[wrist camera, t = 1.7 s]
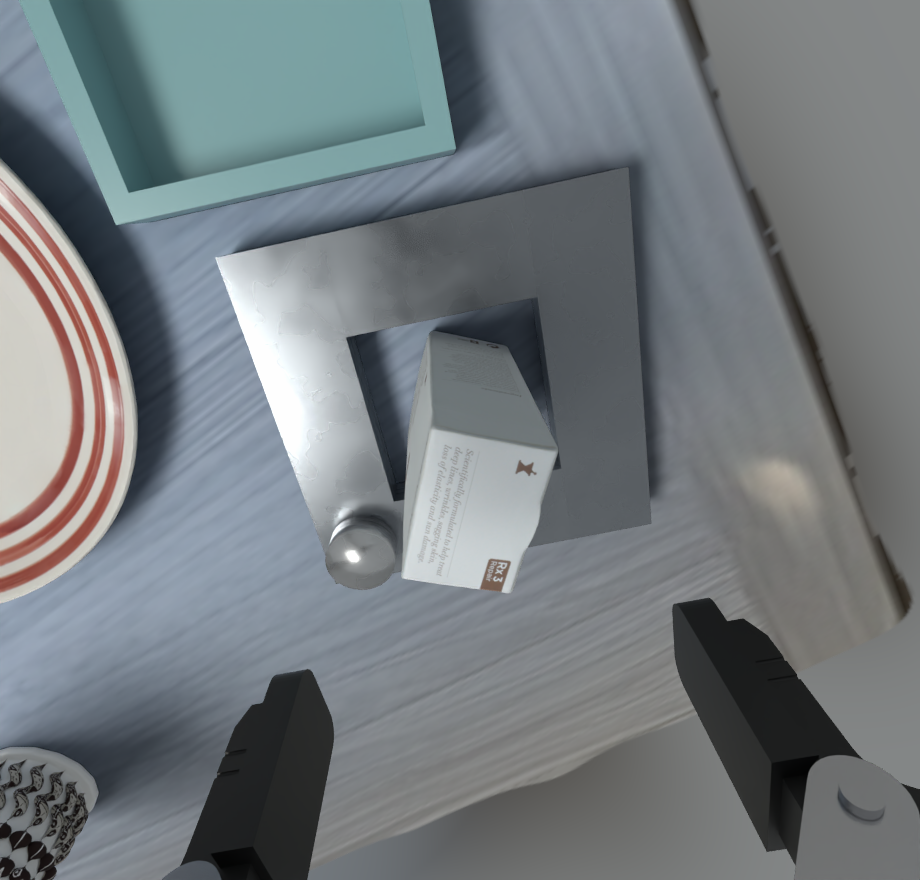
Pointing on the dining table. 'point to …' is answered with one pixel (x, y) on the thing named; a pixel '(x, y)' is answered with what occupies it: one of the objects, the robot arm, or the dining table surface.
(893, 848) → the robot arm
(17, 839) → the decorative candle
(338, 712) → the dining table surface
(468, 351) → the skincare box
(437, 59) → the tray
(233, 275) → the socket block
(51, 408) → the dinner plate
